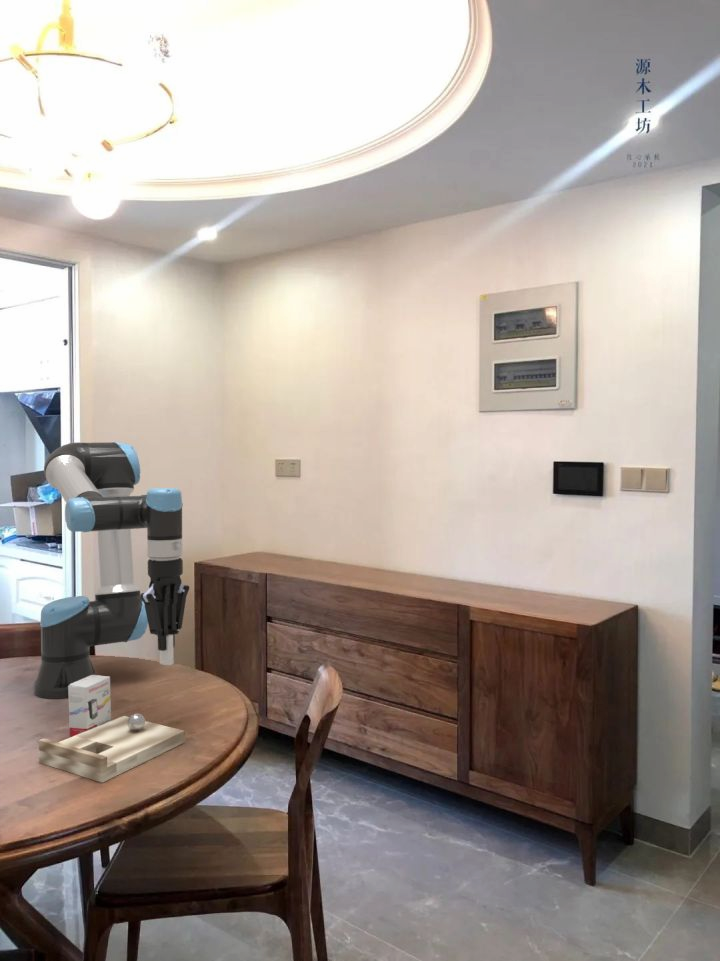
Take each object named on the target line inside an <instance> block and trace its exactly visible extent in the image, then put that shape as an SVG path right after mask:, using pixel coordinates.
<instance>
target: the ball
mask: <svg viewBox="0 0 720 961" xmlns="http://www.w3.org/2000/svg"><path fill="white" fill-rule="evenodd" d="M128 717H129V719H128V721H127V725H128V727H129V729H130V730H132V731H139V730H141V729H142V728H143V727H144V724H145V721H146V719H145V717H144V716H143V714H141V713H137V712H136V713H133V714H131V715H130V716H128Z"/></svg>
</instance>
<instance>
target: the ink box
mask: <svg viewBox="0 0 720 961" xmlns="http://www.w3.org/2000/svg"><path fill="white" fill-rule="evenodd" d="M68 696H69V697H68V723H69V725H68V726H69V738H70V737H73V736H75V735H78V734H80V733H83V732H85V731H88V730H90V729H93V728H95V727H98V726H100V725H103V724H105V723H107V722H110V721H112V710H111V708H112V705H111V704H112V701H111V676H107V675H98V674H96V675H90V676H88V677H86V678H83V679H81V680H79V681H76V682H74V683H71V684H70V685H69V686H68Z"/></svg>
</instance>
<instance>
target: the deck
mask: <svg viewBox="0 0 720 961" xmlns="http://www.w3.org/2000/svg"><path fill="white" fill-rule="evenodd" d="M129 717H130V716H126V715H123V716H120V717H118V718H115V719H111V721H110V722H107V723H105V724H103V725H100V726H98V727H95V728H93V729H90V730H88V731H85V732H83V733H80V734H78V735H75V736H73V737H70V736H69V737H68V738H66V739H63V740H61V741H59V742H58V741H54V740H51V739H48V738H41V739H39V740H38V762H39V763H40V764H43V765H46V766H49V767H51V768H56V769H58V770H61V771H65V772H68V773H71V774H73V775H77V776H80V777H84V778H87V779H90V780H92V781H95V782H99V783H105V782H107V781H109V780H111V779H113V778H115V777H117V776H118V775H121V774H123V773H125V772H127V771H129V770H131V769H133V768H135V767H137V766H140V765H141V764H144V763H145V762H149V760H151V759H154V758H155V757H158V756H160V755H162V754H165V753H166V752H168V751H170V750H172V749H174V748H176V747H178V746H180V745H182V744H185V742H186V739H185V736H186V735H185V732H186V731H185V730H182V729H178V728H174V727H171V726H167V725H162V724H159V723H155V722H151V721H146V720H145V724H144V727H143V728H142V729H141V730H139V731H132V730H130V729H129V727H128V725H127V721H128V719H129Z"/></svg>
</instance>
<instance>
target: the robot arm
mask: <svg viewBox="0 0 720 961" xmlns="http://www.w3.org/2000/svg"><path fill="white" fill-rule="evenodd" d="M138 456H139V455H138V454H137V451H136V449H135V448H134V446H133V445H131V444H130V443H123V442H116V441H114V442H72V443H66V444H63V445H61V446H59V447H57V448H56V449H55V450H53V451H52V452H51V453H50V454H49V455H48V456H47V458H46V460H45V462H44V464H43V465H44V466H43V474H44V477H45V480H46V481H47V483H48V484H49V485H50V487H52V488H53V489H56V490H57V491H58V492H59V494H60V495H61V497H62V499H63V500H64V502H65V507H64V508H65V509H64V517H65V523H66V528H67V529H68V531H70V532H74V533H75V532H76V533H77V532H78V533H79V532H82V533H89V532H97V544H98V563H99V581H100V582H99V583H100V584H99V585H100V587H99V588H98V589H97V591H96V592H95V593H94V600H91V601H90V599H89V597H88V596H86V595H79V596H69V597H63V598H59V599H57V600H53V601H51V602H48V603H46V604H45V605H44V606H43V607H42V608H41V610H40V611H41V612H40V622H39V626H40V653H41V654H40V656H41V657H40V658H41V663H40V665H39V669H38V672H37V675H36V679H35V682H34V687H33V688H34V690H33V692H34V695H35V696H37V697H40V698H44V699H66V698H68V699H69V696H68V686H69V685H70V684H71V683H74V682H76V681H79V680H81V679H83V678H86V677H88V676H90V675H97V674H96V672H95V668H94V666H93V663H92V661H91V658H90V647H95V646H100V645H109V644H118V643H128V642H132V641H136V640H139V639H141V638H142V637H143V636H144V635H145V634H146V631H147V628H148V629H149V634H151V635H155V636H157V650H158V651H159V664H160V665H163V666H164V665H165V666H171V665H173V664H174V663H175V662H174V648H175V645H176V641H175V639H176V635H178V634H179V632H180V631H179V630H181V629H182V628H183V627H182V626H183V621H184V620H183V619H184V614H185V607H186V601H187V595H188V593H189V591H190V586H189V585H187V584H186V585H185V584H184V583H182V582H183V581H182V579H181V575H183V573H184V567H183V566H184V563H183V562H184V561H183V559H182V556H183V504H184V503H183V499H182V498H183V496H182V491H181V490H180V489H179V488H175V487H174V488H173V487H163V488H162V487H158V488H157V487H156V488H149V489H148V490H147V492H146V494H142V495H141V494H140V495H132V493H133V492H134V490H135V486H136V485H138V484H139V482H140V480H141V475H140V474H141V465H140V460H139V457H138ZM135 529H137V530H138V529H139V530H140V529H147V530H146V532H147V537H146V539H147V541H146V542H147V550H146V552H147V554H146V555H147V557H148V558H149V559H148V560H147V575H148V576H149V579H150V581H149V585H148V589H147V591H146V592H141V588H139V587H138V586H137V585H136V584H135V579H134V566H133V565H134V563H133V549H132V548H133V547H132V532H131V531H132V530H135Z"/></svg>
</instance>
